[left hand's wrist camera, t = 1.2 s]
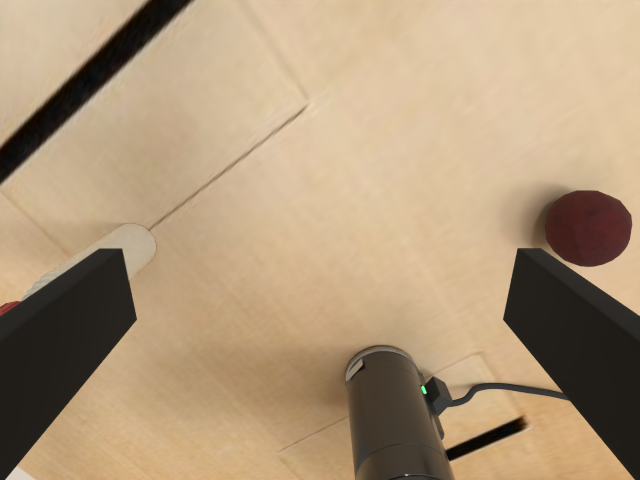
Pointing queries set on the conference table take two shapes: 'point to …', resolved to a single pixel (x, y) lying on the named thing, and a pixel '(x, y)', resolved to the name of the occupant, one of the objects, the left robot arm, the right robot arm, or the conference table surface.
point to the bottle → (128, 237)
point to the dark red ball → (588, 228)
